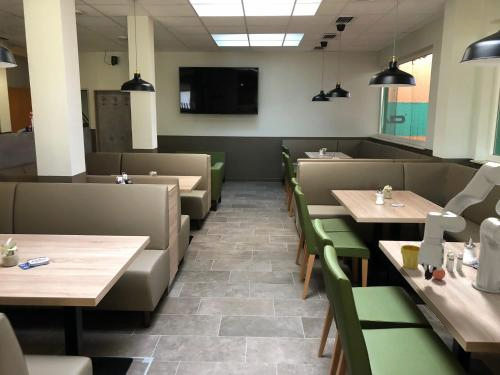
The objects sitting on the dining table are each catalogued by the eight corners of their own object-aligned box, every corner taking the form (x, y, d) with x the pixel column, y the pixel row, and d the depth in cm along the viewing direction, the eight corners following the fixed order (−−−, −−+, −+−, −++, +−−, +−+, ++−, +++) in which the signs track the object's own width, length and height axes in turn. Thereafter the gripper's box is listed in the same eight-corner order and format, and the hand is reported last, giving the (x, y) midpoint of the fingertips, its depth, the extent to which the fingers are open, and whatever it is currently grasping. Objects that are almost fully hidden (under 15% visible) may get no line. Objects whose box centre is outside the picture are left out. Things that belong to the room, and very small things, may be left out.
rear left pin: (452, 267, 205) (453, 251, 203) (450, 268, 203) (451, 252, 201) (446, 266, 206) (448, 250, 205) (444, 267, 205) (446, 251, 203)
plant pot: (423, 271, 199) (425, 252, 198) (401, 269, 201) (402, 250, 200) (419, 263, 209) (420, 245, 208) (398, 262, 211) (399, 244, 210)
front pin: (453, 270, 200) (455, 254, 198) (451, 272, 198) (453, 255, 197) (448, 269, 202) (450, 253, 200) (446, 270, 200) (448, 254, 198)
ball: (446, 279, 190) (448, 267, 189) (441, 282, 186) (442, 270, 185) (433, 275, 194) (435, 263, 193) (428, 278, 190) (429, 266, 189)
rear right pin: (462, 270, 201) (464, 253, 200) (460, 271, 199) (462, 254, 198) (457, 268, 203) (458, 252, 201) (455, 270, 201) (457, 253, 200)
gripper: (453, 242, 177) (448, 282, 180) (419, 234, 188) (415, 272, 191) (446, 246, 172) (441, 286, 175) (412, 237, 182) (408, 276, 186)
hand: (428, 279), depth 183 cm, fingers closed
